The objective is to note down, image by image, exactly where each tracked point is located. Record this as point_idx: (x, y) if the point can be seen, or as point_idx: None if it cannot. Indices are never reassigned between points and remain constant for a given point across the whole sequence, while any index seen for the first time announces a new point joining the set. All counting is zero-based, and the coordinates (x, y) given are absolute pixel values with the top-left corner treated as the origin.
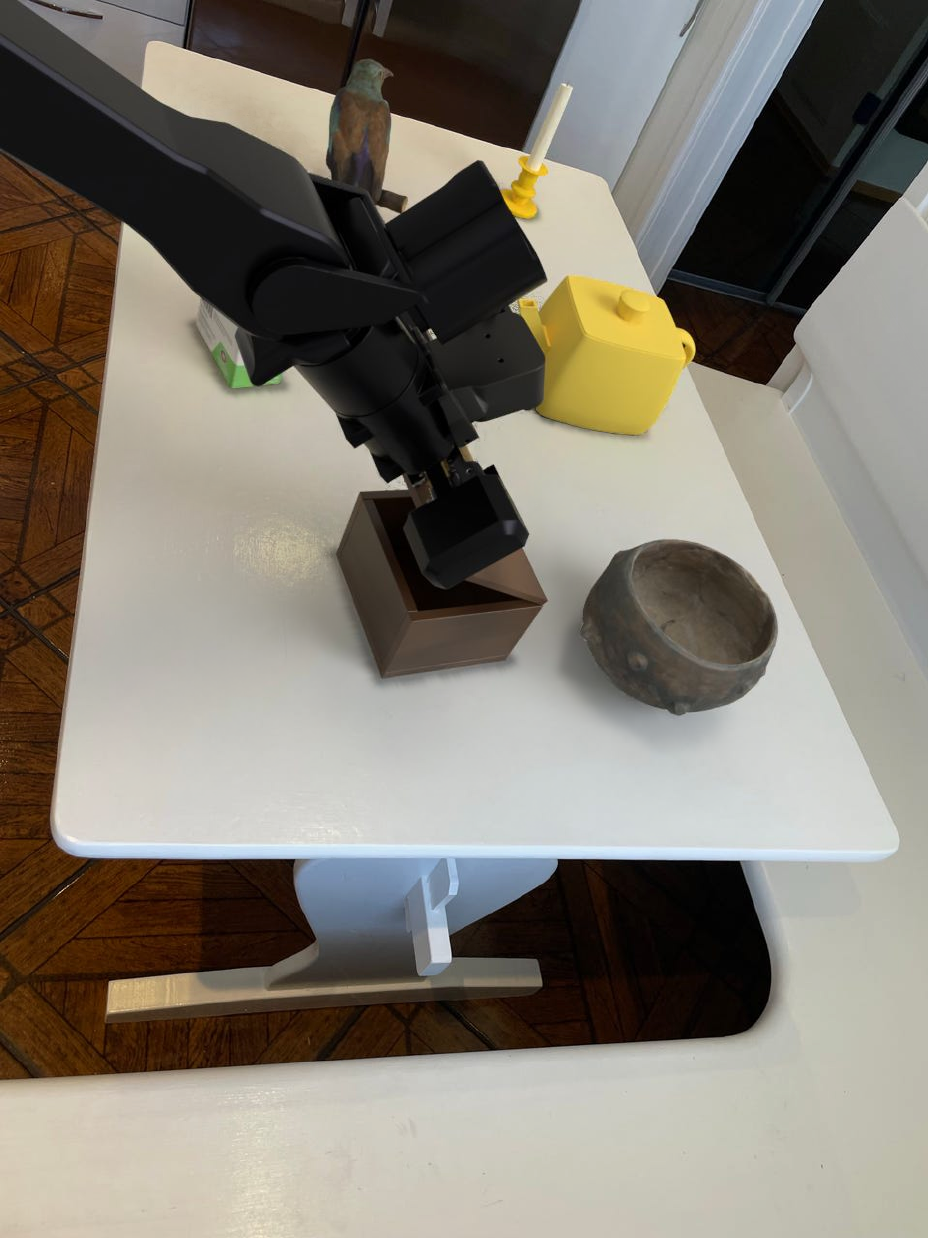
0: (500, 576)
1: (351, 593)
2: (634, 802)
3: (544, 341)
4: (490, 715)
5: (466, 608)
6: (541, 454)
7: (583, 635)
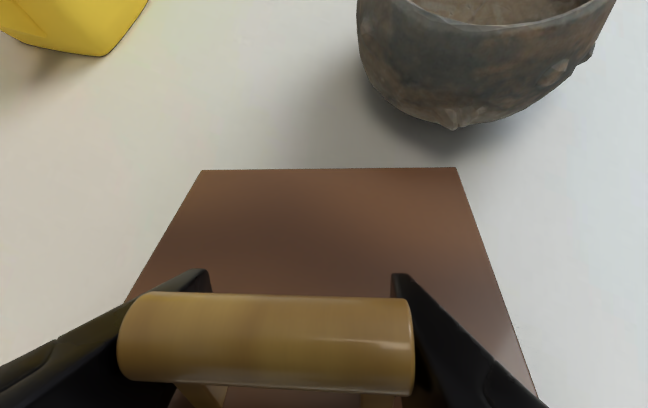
0: (464, 265)
1: None
2: (625, 148)
3: (1, 2)
4: (502, 276)
5: None
6: (156, 73)
7: (457, 127)
